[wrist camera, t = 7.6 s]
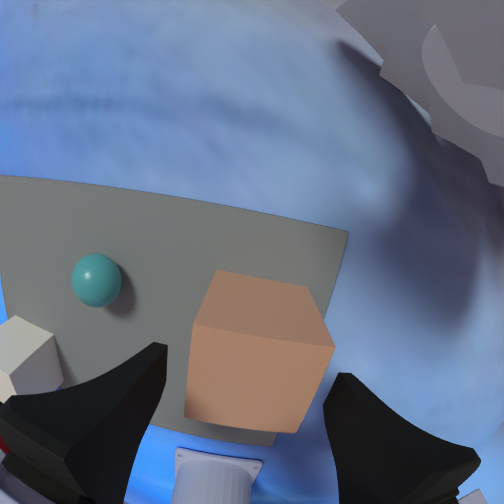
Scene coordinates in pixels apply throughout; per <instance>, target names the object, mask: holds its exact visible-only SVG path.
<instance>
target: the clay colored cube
mask: <svg viewBox="0 0 504 504" xmlns="http://www.w3.org/2000/svg"><path fill="white" fill-rule="evenodd" d="M334 350H335V345H334V343H333V340H332V338H331V336H330V334H329V332H328V329H327V327H326V325H325V323H324V321H323V319H322V317H321V314H320V312H319V310H318V308H317V306H316V304H315V302H314V300H313V298H312V295H311V293H310V291H309V289H308V287H305V286H300V285H294V284H289V283H283V282H278V281H273V280H267V279H262V278H257V277H252V276H247V275H242V274H236V273H231V272H226V271H221V270H216V272H215V275H214V277H213V279H212V281H211V284H210V286H209V288H208V290H207V293H206V295H205V297H204V300H203V302H202V304H201V306H200V309H199V311H198V313H197V316H196V318H195V320H194V323H193V329H192V337H191V346H190V355H189V364H188V374H187V385H186V396H185V409H184V417H185V418H189V419H194V420H198V421H203V422H208V423H213V424H219V425H225V426H231V427H237V428H245V429H252V430H261V431H271V432H284V433H296V432H297V430H298V428H299V426H300V424H301V422H302V420H303V418H304V416H305V414H306V412H307V410H308V408H309V406H310V404H311V402H312V400H313V398H314V396H315V394H316V392H317V389H318V387H319V385H320V383H321V381H322V378H323V376H324V374H325V371H326V369H327V367H328V364H329V362H330V360H331V357H332V355H333V352H334Z"/></svg>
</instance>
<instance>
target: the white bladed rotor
mask: <svg viewBox="0 0 504 504" xmlns="http://www.w3.org/2000/svg"><path fill="white" fill-rule="evenodd" d="M335 11H336V12H337V13H339V14H340V15H341V16H342V17H343V18H344V19H345V20H346V21H347V22H348V23H349V24H350V25H351V26H352V27H353V28H354V29H355V30H357V31H358V33H359V34H360V35H361V36H362V37H363V38H364V39H365V40H366V41H367V42H368V43H369V44H370V45H371V46H372V47H373V48H374V49H375V51H376V52H377V53H378V54H379V55H380V56H381V57H382V59H383V60H384V62H383V65H382V68H381V70H380V73H379V76H381V77H382V78H384V79H385V80H387V81H388V82H390V83H391V84H392V85H394V86H395V87H397V88H398V89H399V90H401V91H402V92H403V93H405V94H406V95H407V96H408V97H410V98H411V99H412V100H414V101H415V102H416V103H417V104H418V105H420V106H421V107H422V108H423V109H425V110H426V111H427V112H428V113H429V114H430V116H431V127H432V133H434V134H436V135H438V136H440V137H442V138H444V139H446V140H448V141H450V142H451V143H453V144H455V145H457V146H459V147H460V148H462V149H464V150H466V151H467V152H469V153H471V154H472V155H474V156H476V157H477V158H479V159H480V160H481V162H482V165H483V167H484V170H485V173H486V175H487V178H488V181H489V183H492V184H495V185H499V186H502V187H504V0H348V1H347V2H345V3H344V4H342V5H341V6H340V7H338V8H337V9H336V10H335Z"/></svg>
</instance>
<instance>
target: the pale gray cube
mask: <svg viewBox="0 0 504 504" xmlns="http://www.w3.org/2000/svg"><path fill="white" fill-rule="evenodd" d="M63 381H64V378H63V375H62V371H61V367H60V362H59V358H58V353H57V349H56V344H55V338H54V334H52V333H50V332H48V331H46V330H44V329H41V328H39V327H37V326H35V325H33V324H31V323H29V322H27V321H26V320H24V319H22V318H20V317H18V316H16V315H15V316H13V317H12V318H10V319H9V320H7V321H6V322H4V323H3V324H2V325H0V401H1V402H2V403H3V404H4V403H5V401H6V400H7V399H8V398H9V397H10V396H11V395H28V394H39V393H46V392H52V391H56V389H57V388H58V387H59V386H60V385H61V383H62V382H63Z"/></svg>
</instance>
